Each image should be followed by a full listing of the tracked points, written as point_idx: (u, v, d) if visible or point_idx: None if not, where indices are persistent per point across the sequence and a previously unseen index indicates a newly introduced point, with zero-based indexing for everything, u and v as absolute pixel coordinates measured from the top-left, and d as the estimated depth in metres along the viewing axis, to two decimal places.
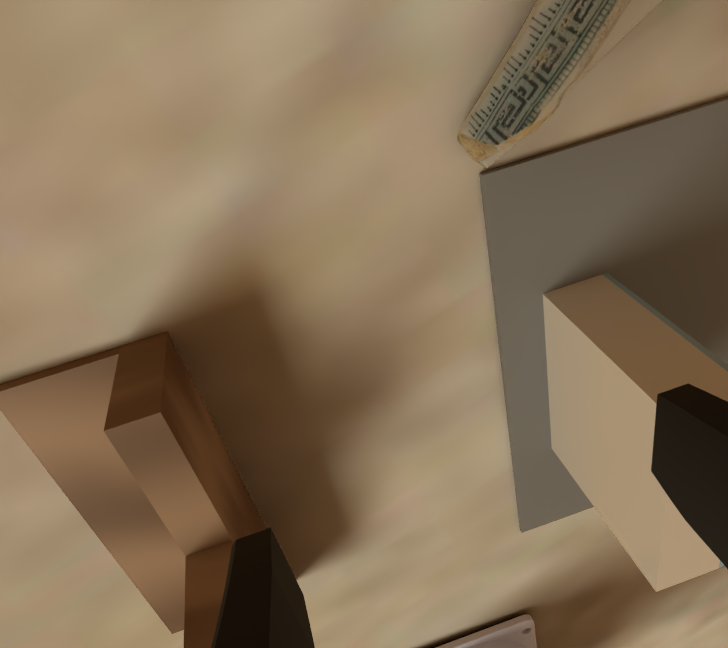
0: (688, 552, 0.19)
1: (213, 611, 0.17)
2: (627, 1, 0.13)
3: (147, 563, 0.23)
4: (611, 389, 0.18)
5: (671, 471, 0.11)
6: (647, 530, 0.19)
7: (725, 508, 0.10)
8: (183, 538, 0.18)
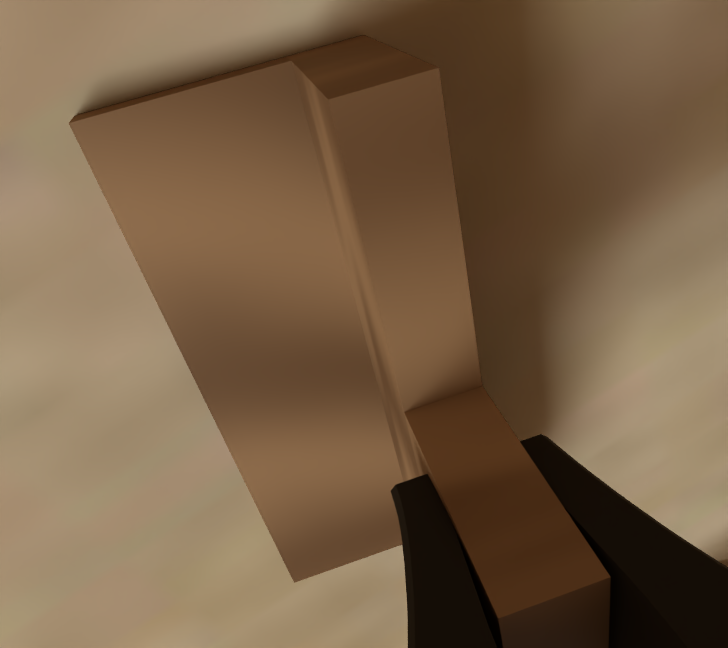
0: None
1: (498, 486, 0.09)
2: None
3: (278, 468, 0.15)
4: None
5: None
6: None
7: None
8: (410, 374, 0.10)
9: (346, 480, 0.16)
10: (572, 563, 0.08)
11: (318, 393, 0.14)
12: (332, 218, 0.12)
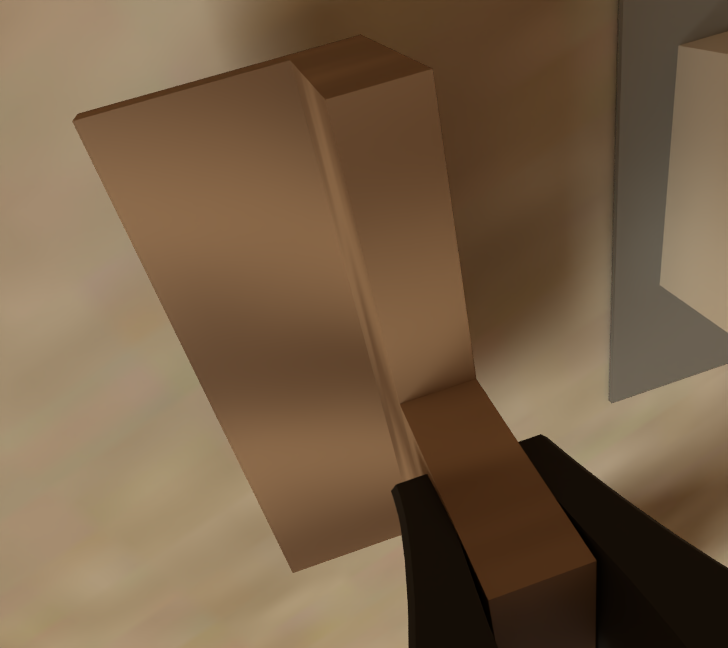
0: None
1: (490, 475, 0.09)
2: None
3: (277, 460, 0.16)
4: None
5: None
6: None
7: None
8: (405, 367, 0.10)
9: (344, 472, 0.17)
10: (560, 548, 0.08)
11: (316, 386, 0.15)
12: (330, 214, 0.12)
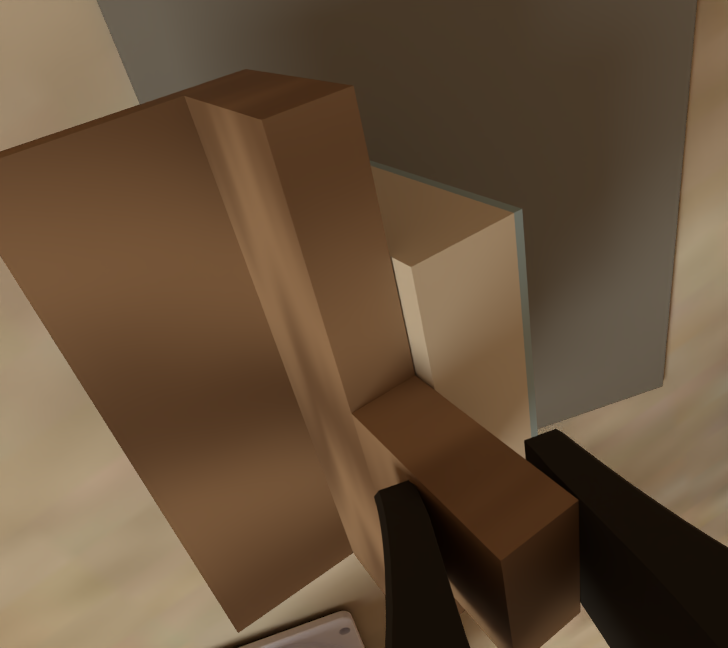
0: None
1: (460, 454, 0.10)
2: None
3: (210, 512, 0.15)
4: None
5: None
6: None
7: (581, 561, 0.09)
8: (352, 374, 0.11)
9: (279, 509, 0.16)
10: (544, 498, 0.09)
11: (242, 424, 0.14)
12: (238, 245, 0.12)
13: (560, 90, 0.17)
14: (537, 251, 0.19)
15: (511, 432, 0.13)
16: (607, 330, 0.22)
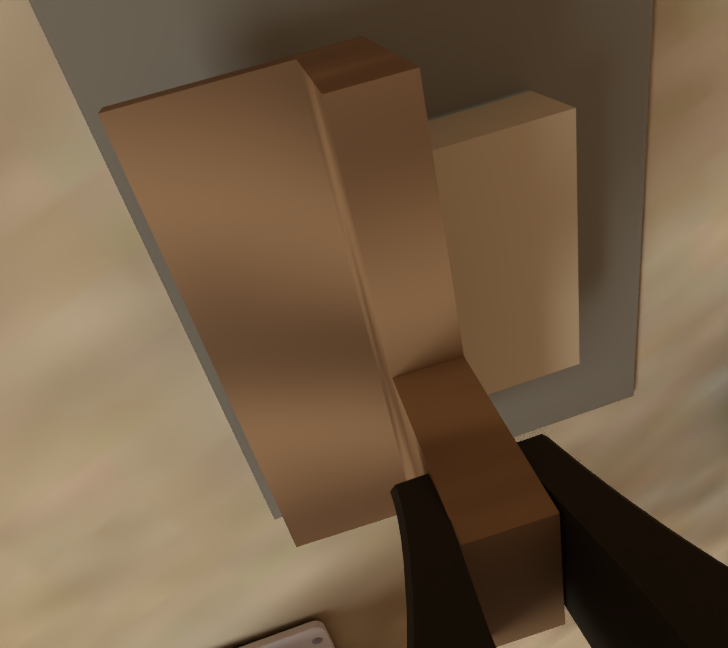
0: None
1: (470, 440, 0.10)
2: None
3: (282, 436, 0.17)
4: (475, 183, 0.15)
5: None
6: (558, 304, 0.17)
7: (566, 566, 0.09)
8: (397, 342, 0.11)
9: (345, 450, 0.17)
10: (528, 502, 0.09)
11: (319, 366, 0.16)
12: (333, 203, 0.13)
13: None
14: None
15: None
16: None
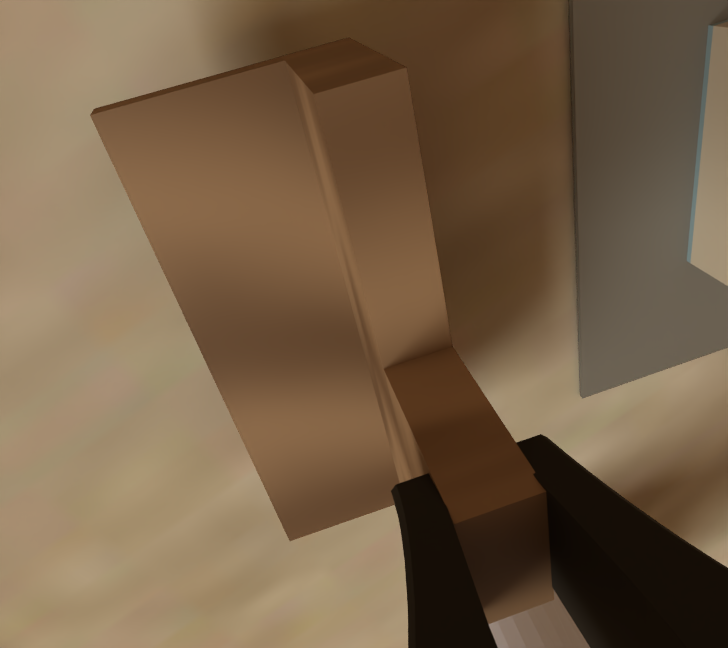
0: None
1: (460, 425, 0.10)
2: None
3: (274, 431, 0.17)
4: None
5: None
6: None
7: (565, 567, 0.09)
8: (387, 334, 0.12)
9: (336, 444, 0.18)
10: (517, 481, 0.09)
11: (310, 361, 0.16)
12: (322, 201, 0.14)
13: None
14: None
15: None
16: None
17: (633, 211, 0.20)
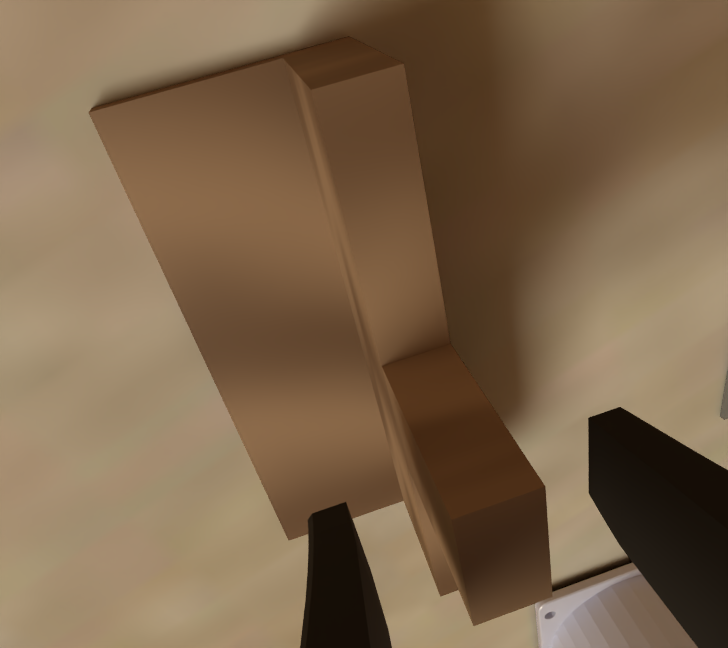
0: None
1: (458, 422, 0.10)
2: None
3: (273, 430, 0.17)
4: None
5: (604, 495, 0.11)
6: None
7: (651, 535, 0.09)
8: (386, 332, 0.12)
9: (335, 443, 0.18)
10: (515, 477, 0.09)
11: (309, 360, 0.16)
12: (320, 199, 0.14)
13: None
14: None
15: None
16: None
17: None
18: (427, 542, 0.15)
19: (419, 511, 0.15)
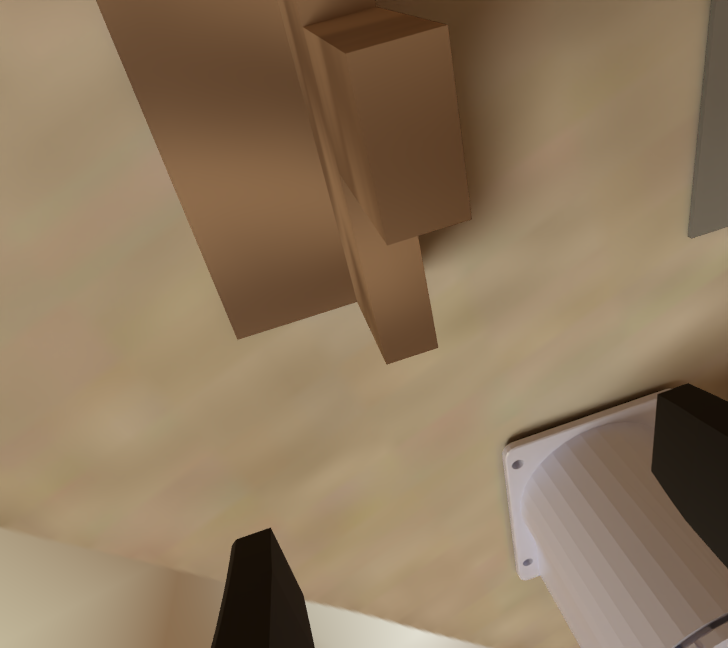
0: None
1: (370, 25, 0.10)
2: None
3: (213, 193, 0.16)
4: None
5: (671, 471, 0.11)
6: None
7: (725, 508, 0.10)
8: None
9: (281, 218, 0.17)
10: (418, 28, 0.09)
11: (247, 107, 0.15)
12: None
13: None
14: None
15: None
16: None
17: None
18: (368, 286, 0.15)
19: (356, 242, 0.14)
